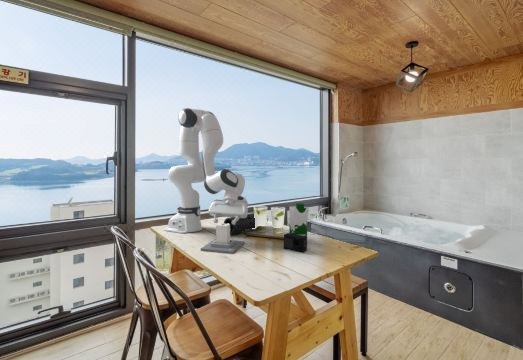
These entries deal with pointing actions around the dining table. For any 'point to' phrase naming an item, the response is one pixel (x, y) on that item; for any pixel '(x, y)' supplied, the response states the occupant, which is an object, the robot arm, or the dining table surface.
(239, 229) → the muzzle brake
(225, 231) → the charger brick
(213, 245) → the socket plate
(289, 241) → the digital camera
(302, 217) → the milk carton
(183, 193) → the robot arm
